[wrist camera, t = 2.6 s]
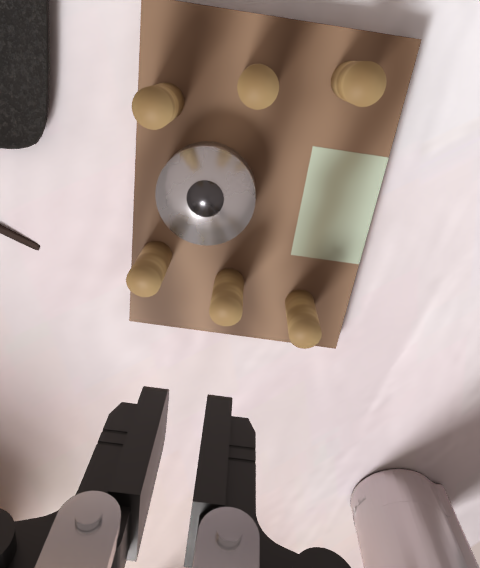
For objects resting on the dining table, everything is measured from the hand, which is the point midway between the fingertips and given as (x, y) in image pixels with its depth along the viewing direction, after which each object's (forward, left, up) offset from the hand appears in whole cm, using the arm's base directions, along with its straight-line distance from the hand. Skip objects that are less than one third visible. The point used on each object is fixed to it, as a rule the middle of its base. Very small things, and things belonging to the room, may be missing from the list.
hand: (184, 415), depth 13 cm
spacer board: (-2, 0, -25) cm, 25 cm away
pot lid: (+2, 0, -24) cm, 24 cm away
